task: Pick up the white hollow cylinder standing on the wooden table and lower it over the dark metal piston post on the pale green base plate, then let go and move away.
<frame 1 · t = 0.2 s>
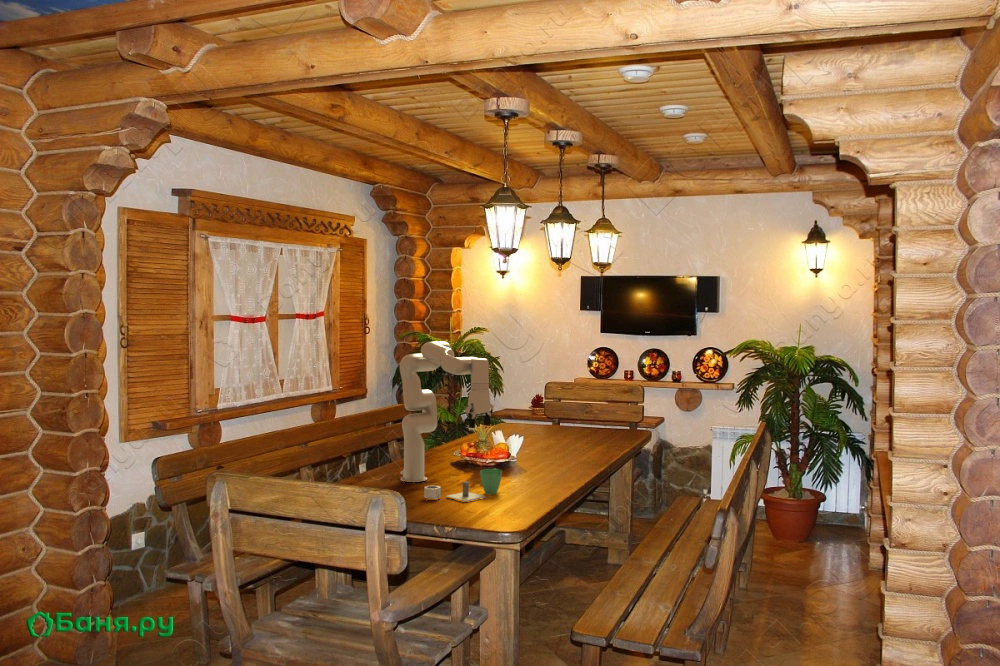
hand: (479, 426, 355), 31 cm above the table, tool pointing down, fingers open, 9 cm apart
mug: (492, 492, 365), on the table
piston: (465, 498, 354), on the table
white hollow cylinder: (432, 498, 352), on the table
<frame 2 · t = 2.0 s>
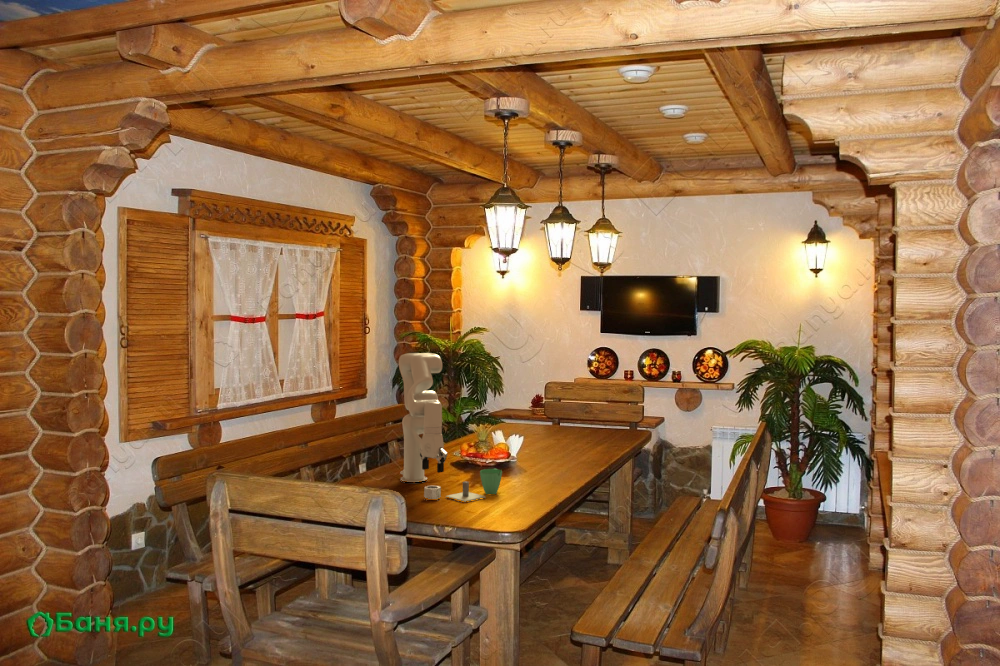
hand: (432, 470, 351), 12 cm above the table, tool pointing down, fingers open, 9 cm apart
nothing on the table moved.
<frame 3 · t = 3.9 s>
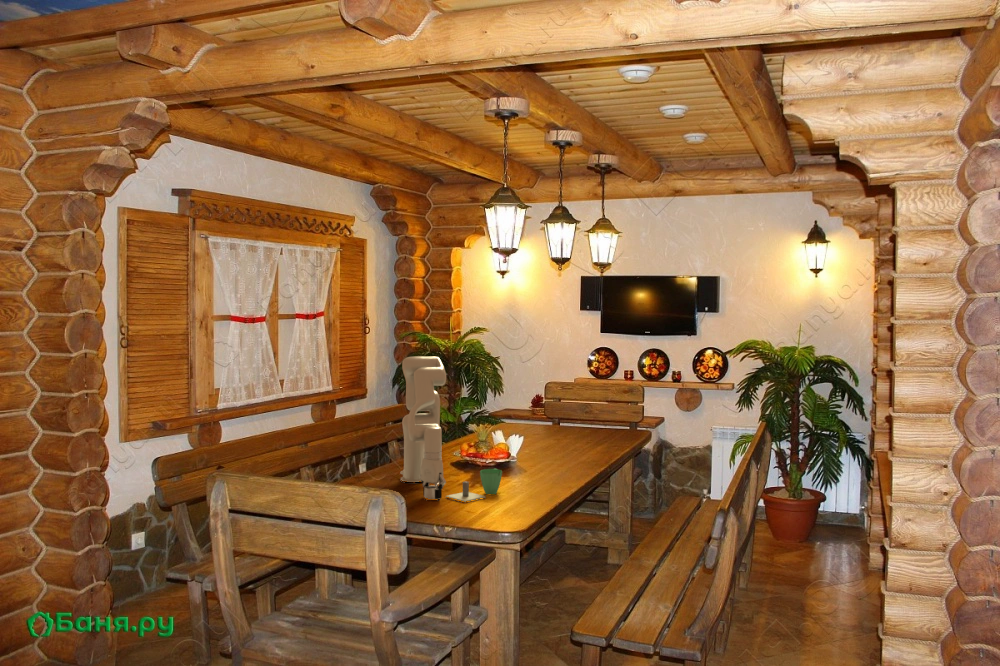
hand: (432, 496, 352), 1 cm above the table, tool pointing down, fingers closed on white hollow cylinder, 6 cm apart
white hollow cylinder: (432, 498, 352), on the table, touching gripper
everything else where it was.
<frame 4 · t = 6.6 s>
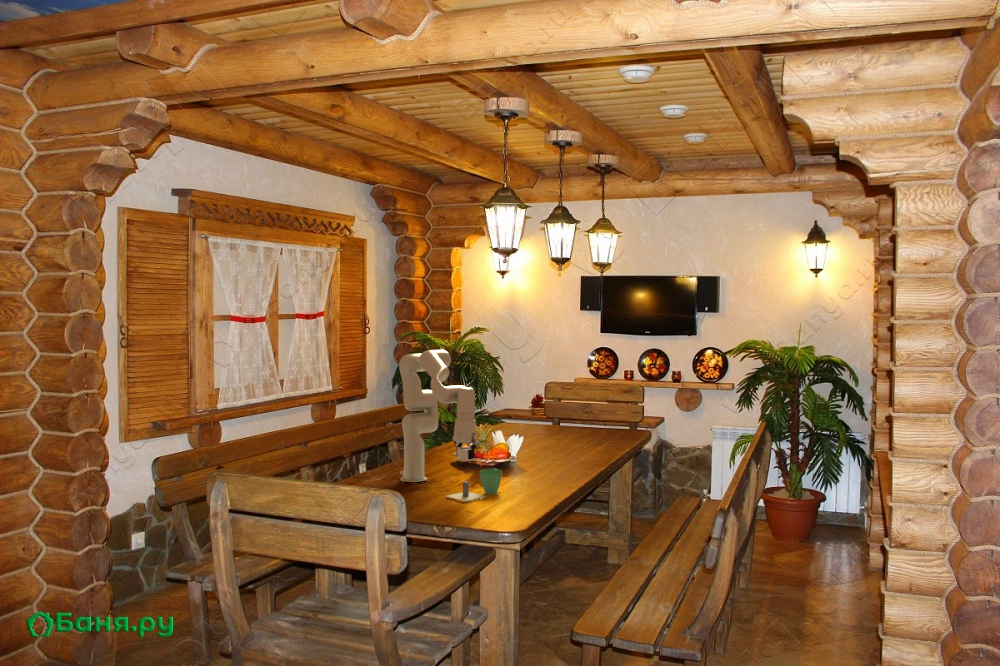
hand: (465, 457, 353), 18 cm above the table, tool pointing down, fingers closed on white hollow cylinder, 6 cm apart
white hollow cylinder: (465, 459, 353), point 17 cm above the table, touching gripper
everything else where it was.
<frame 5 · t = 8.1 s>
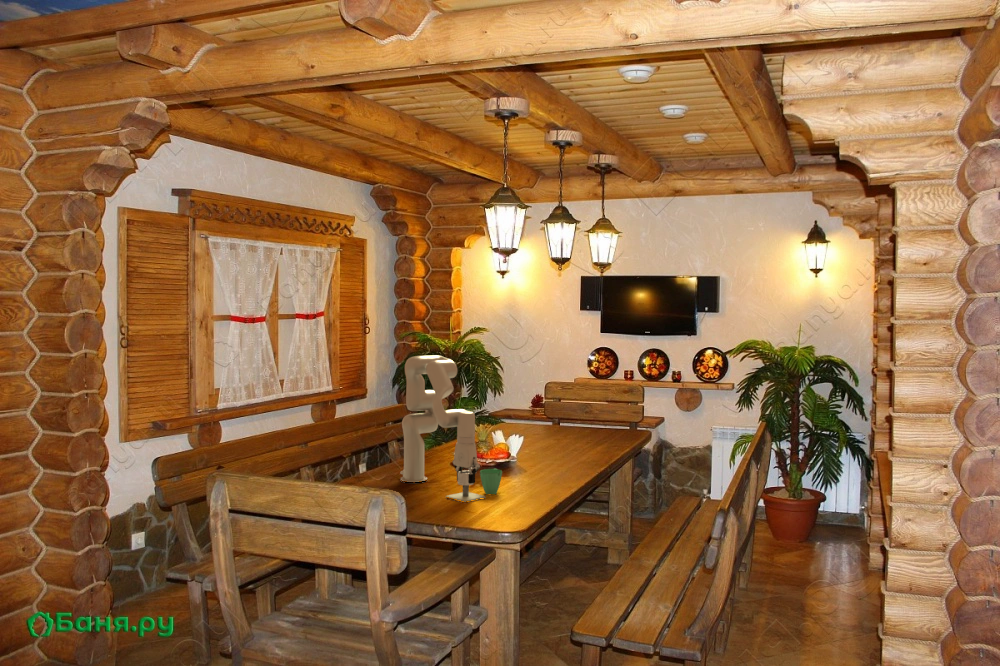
hand: (465, 481, 353), 7 cm above the table, tool pointing down, fingers closed on white hollow cylinder, 6 cm apart
white hollow cylinder: (465, 483, 353), point 6 cm above the table, touching gripper
everything else where it was.
when the fingers open (4 cm above the table, at t = 9.2 s): white hollow cylinder drops 2 cm, resting on piston.
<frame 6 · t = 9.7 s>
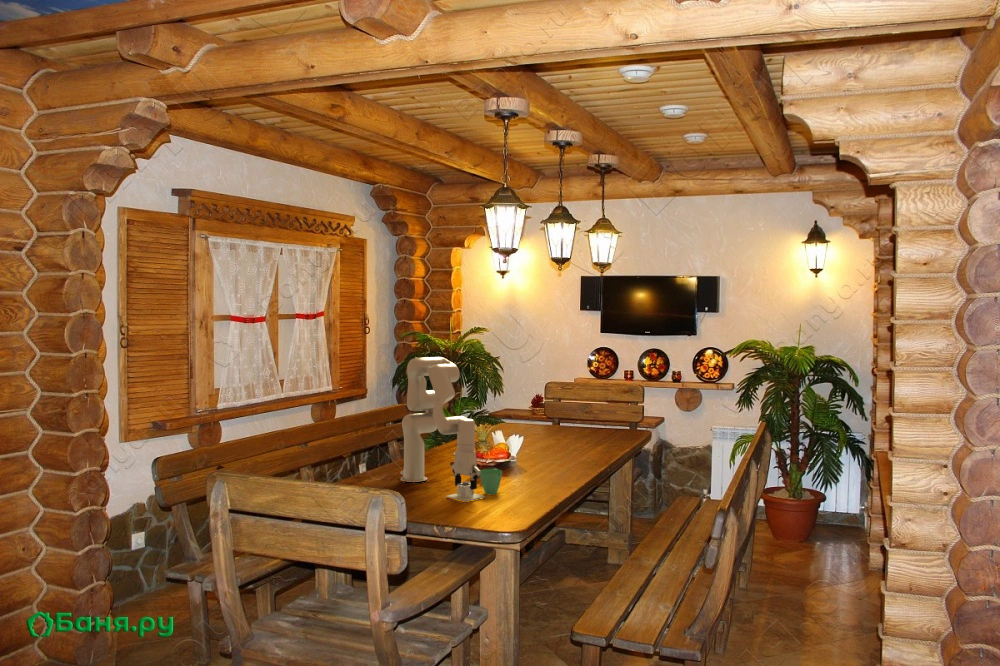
hand: (465, 487, 354), 5 cm above the table, tool pointing down, fingers open, 9 cm apart
white hollow cylinder: (465, 496, 354), point 1 cm above the table, touching piston
everything else where it was.
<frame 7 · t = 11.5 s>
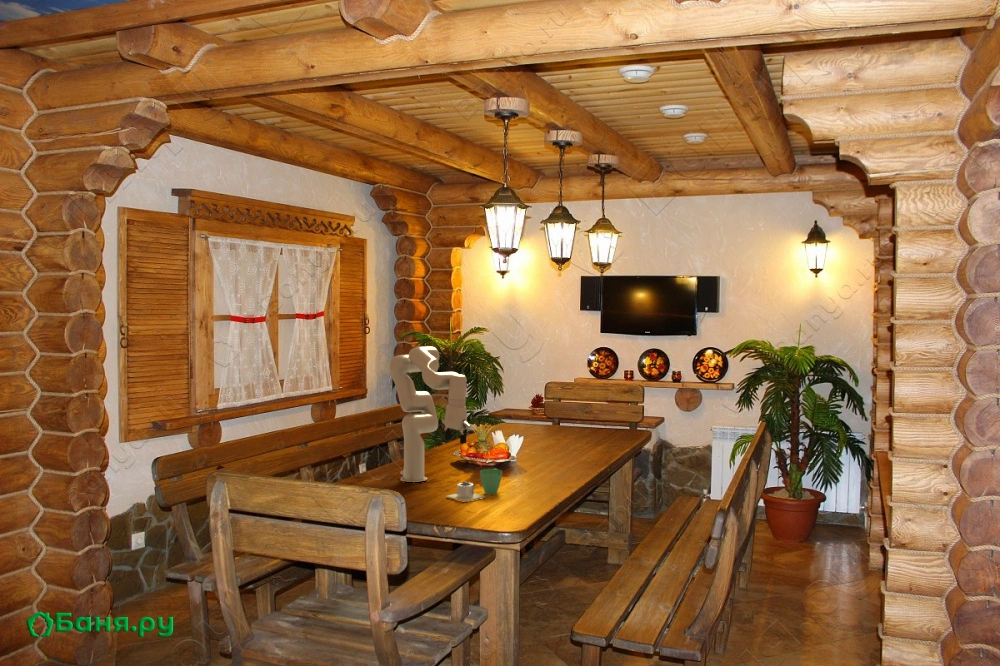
hand: (455, 441, 360), 23 cm above the table, tool pointing down, fingers open, 9 cm apart
nothing on the table moved.
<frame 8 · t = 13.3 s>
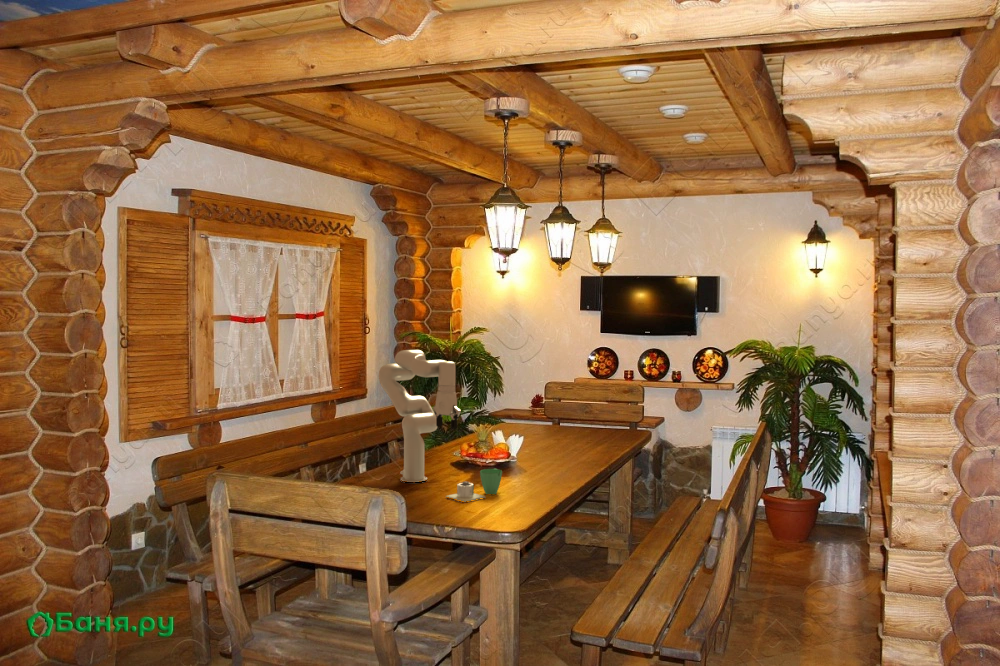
hand: (446, 427, 367), 28 cm above the table, tool pointing down, fingers open, 9 cm apart
nothing on the table moved.
at the end: white hollow cylinder 0.1 cm off-centre on the piston, point 1.0 cm above the piston's base; white hollow cylinder tilted 0°; the gripper is holding nothing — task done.
